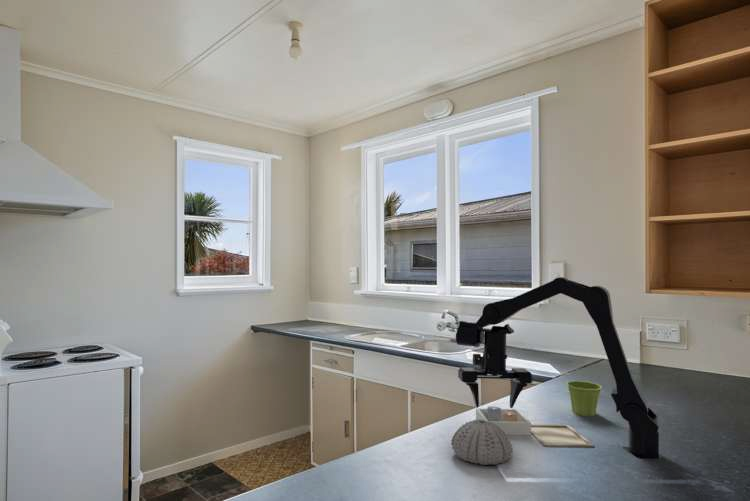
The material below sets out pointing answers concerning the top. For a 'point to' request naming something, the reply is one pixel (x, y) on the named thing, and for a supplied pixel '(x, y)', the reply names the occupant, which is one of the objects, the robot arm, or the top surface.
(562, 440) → the parts tray
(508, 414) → the peach rounded cylinder
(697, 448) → the top surface
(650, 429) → the robot arm
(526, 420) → the square storage bin
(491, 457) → the sea urchin shell
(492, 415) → the slate pebble
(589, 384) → the plant pot
